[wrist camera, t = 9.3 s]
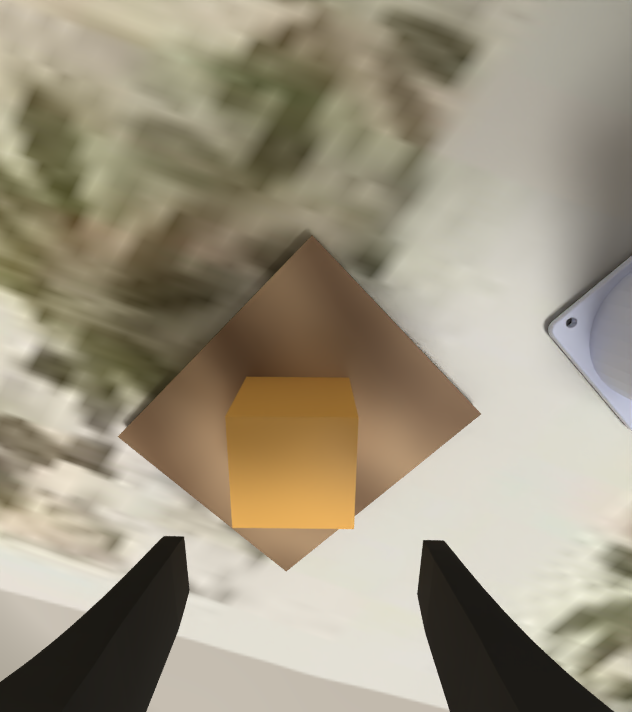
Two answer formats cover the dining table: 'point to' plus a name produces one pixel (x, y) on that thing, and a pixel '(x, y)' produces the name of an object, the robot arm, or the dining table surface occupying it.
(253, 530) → the brown flat block
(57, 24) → the dining table surface
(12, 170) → the dining table surface
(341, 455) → the mustard tilted cube
